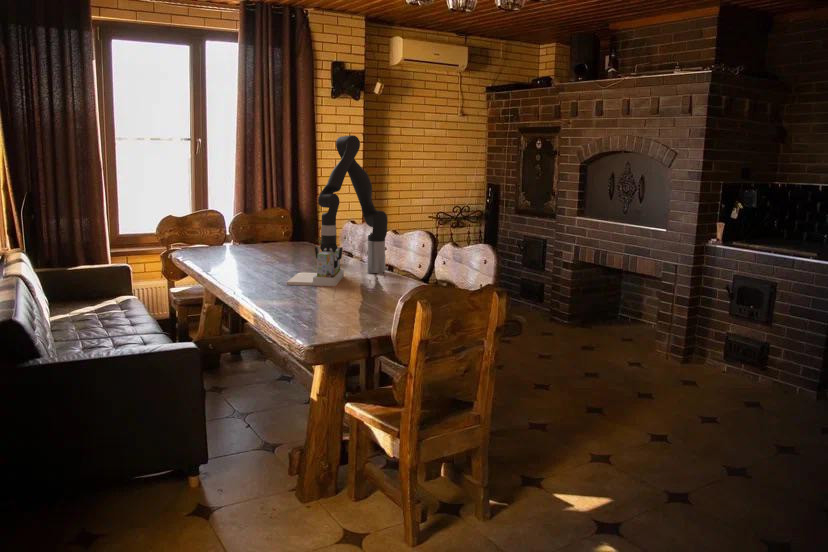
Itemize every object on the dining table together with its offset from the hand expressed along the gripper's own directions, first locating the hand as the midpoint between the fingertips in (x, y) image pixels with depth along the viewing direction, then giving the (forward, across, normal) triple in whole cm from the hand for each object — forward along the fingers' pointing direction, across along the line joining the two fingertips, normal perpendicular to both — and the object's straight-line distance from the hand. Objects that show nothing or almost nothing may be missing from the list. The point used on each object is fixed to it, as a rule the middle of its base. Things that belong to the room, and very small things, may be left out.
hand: (328, 267), depth 345 cm
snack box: (+7, 0, 0) cm, 7 cm away
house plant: (+7, +10, -51) cm, 53 cm away
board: (+7, +12, 0) cm, 14 cm away
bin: (+7, 0, 0) cm, 7 cm away
